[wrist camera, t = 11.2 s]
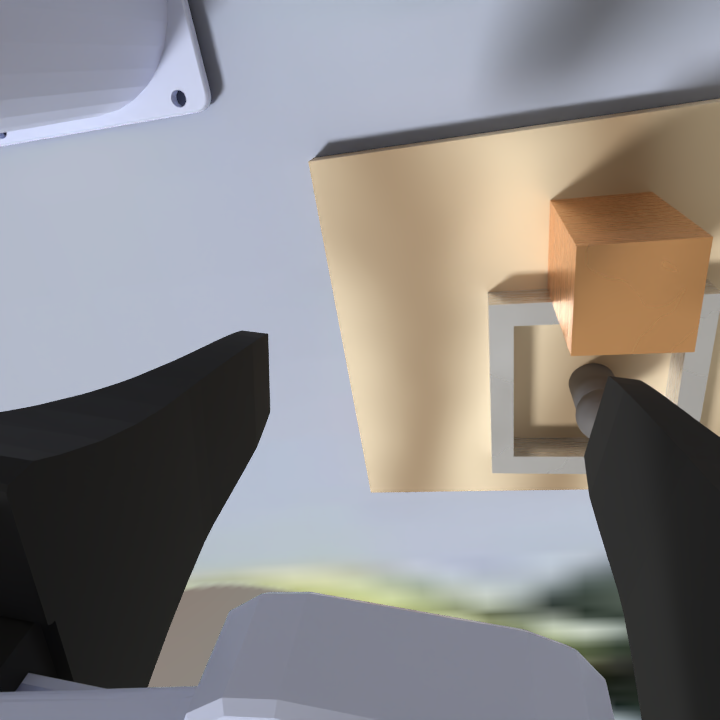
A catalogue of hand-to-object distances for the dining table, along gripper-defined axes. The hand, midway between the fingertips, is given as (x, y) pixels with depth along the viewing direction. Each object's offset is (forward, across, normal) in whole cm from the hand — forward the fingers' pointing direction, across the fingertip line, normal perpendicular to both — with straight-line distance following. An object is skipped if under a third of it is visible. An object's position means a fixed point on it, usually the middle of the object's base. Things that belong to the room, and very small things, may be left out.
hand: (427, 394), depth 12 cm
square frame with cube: (+9, -6, +2) cm, 10 cm away
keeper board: (+9, -6, +2) cm, 11 cm away
